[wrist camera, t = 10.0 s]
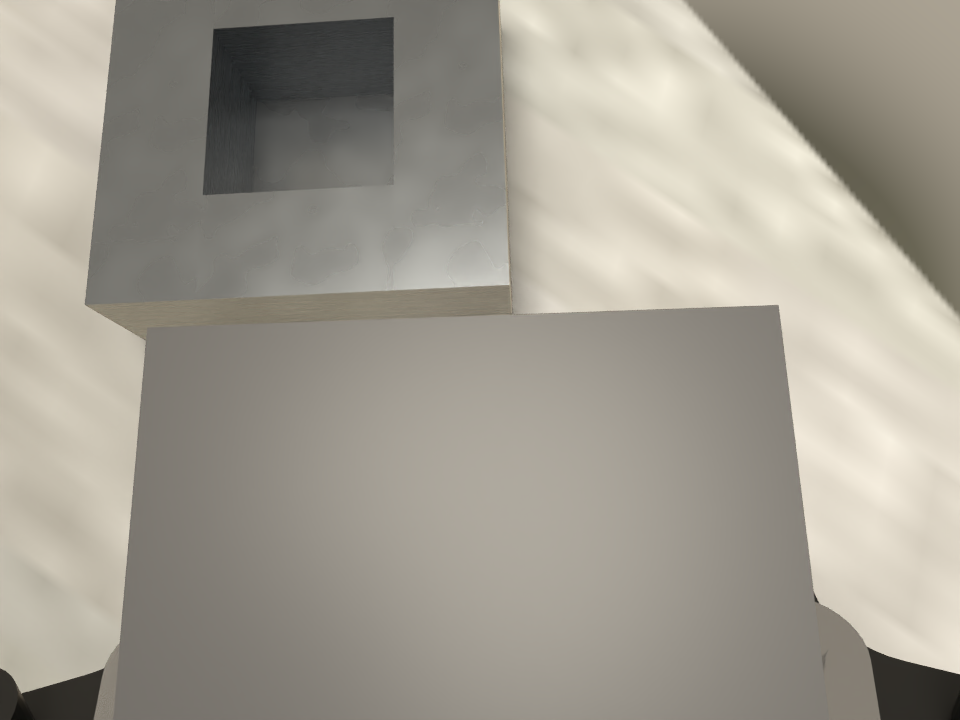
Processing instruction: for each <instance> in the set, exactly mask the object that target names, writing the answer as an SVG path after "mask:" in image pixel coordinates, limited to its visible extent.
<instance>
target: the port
mask: <svg viewBox="0 0 960 720" xmlns="http://www.w3.org/2000/svg"><path fill="white" fill-rule="evenodd" d="M85 305H86V306H88V307H89V308H91V309H93V310H94V311H96V312H98V313H100V314H101V315H103V316H105V317H107V318H108V319H110V320H112V321H113V322H115V323H117V324H119V325H120V326H122V327H124V328H125V329H127V330H129V331H131V332H132V333H134V334H136V335H138V336H139V337H141V338H143V339H144V340H146V336H147V328H151V327H179V326H207V325H235V324H263V323H291V322H320V321H348V320H376V319H404V318H432V317H460V316H488V315H512V291H511V266H510V241H509V216H508V191H507V166H506V141H505V115H504V90H503V65H502V40H501V18H500V0H116V6H115V15H114V25H113V35H112V45H111V55H110V64H109V74H108V84H107V94H106V103H105V113H104V123H103V133H102V143H101V152H100V162H99V172H98V182H97V191H96V201H95V211H94V221H93V231H92V240H91V250H90V260H89V270H88V279H87V289H86V299H85Z"/></svg>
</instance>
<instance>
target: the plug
mask: <svg viewBox="0 0 960 720" xmlns="http://www.w3.org/2000/svg"><path fill="white" fill-rule="evenodd" d="M113 720H829V713H828V705H827V697H826V689H825V680H824V672H823V664H822V656H821V648H820V640H819V632H818V623H817V615H816V607H815V599H814V591H813V583H812V574H811V566H810V558H809V550H808V542H807V534H806V526H805V517H804V509H803V501H802V493H801V485H800V477H799V469H798V460H797V452H796V444H795V436H794V428H793V420H792V411H791V403H790V395H789V387H788V379H787V371H786V363H785V354H784V346H783V338H782V330H781V322H780V314H779V306H778V305H768V306H740V307H712V308H684V309H656V310H628V311H600V312H572V313H544V314H516V315H488V316H460V317H432V318H404V319H376V320H348V321H320V322H291V323H263V324H235V325H207V326H179V327H151V328H147V336H146V348H145V359H144V371H143V382H142V394H141V405H140V417H139V428H138V440H137V451H136V463H135V474H134V486H133V497H132V509H131V520H130V532H129V543H128V554H127V566H126V577H125V589H124V600H123V612H122V623H121V635H120V646H119V658H118V669H117V681H116V692H115V704H114V715H113Z"/></svg>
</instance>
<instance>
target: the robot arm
mask: <svg viewBox="0 0 960 720" xmlns="http://www.w3.org/2000/svg"><path fill="white" fill-rule="evenodd" d="M814 599H815V607H816V615H817V623H818V632H819V640H820V648H821V656H822V664H823V672H824V680H825V689H826V697H827V705H828V713H829V720H960V674H956V673H952V672H947V671H943V670H939V669H935V668H931V667H927V666H923V665H918V664H914V663H910V662H906V661H902V660H899V659H895V658H892V657H889V656H886V655H884V654H881V653H879V652H876V651H874V650H872V649H870V648H868V647H866V645H865V643H864V641H863V639H862V638H861V637H860V635H859V634H858V632H857V631H856V630H855V629H854V628H853V627H852V626H851V625H850V624H849V623H848V622H847V621H846V620H845V619H843V618H842V617H841V616H840V615H838V614H837V613H835V612H834V611H832V610H830V609H829V608H827V607H825V606H823V605H821V604H819V602H818V600H817V598H816V596H815V594H814ZM119 646H120V644H119V645H118V646H117V647H116V648H115V650H114V651H113V653H112V654H111V655H110V657H109V659H108V661H107V663H106V665H105V668H104V669H101V670H99V671H96V672H93V673H90V674H87V675H84V676H81V677H77V678H74V679H70V680H67V681H64V682H60V683H57V684H53V685H50V686H46V687H43V688H39V689H36V690H32V691H29V692H25V693H22V694H21V692H20V690H19V689H18V687H17V685H16V683H15V681H14V680H13V678H12V676H11V675H9V674H8V673H7V672H6V671H4V670H2V669H0V720H113V715H114V704H115V692H116V681H117V669H118V658H119Z"/></svg>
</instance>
